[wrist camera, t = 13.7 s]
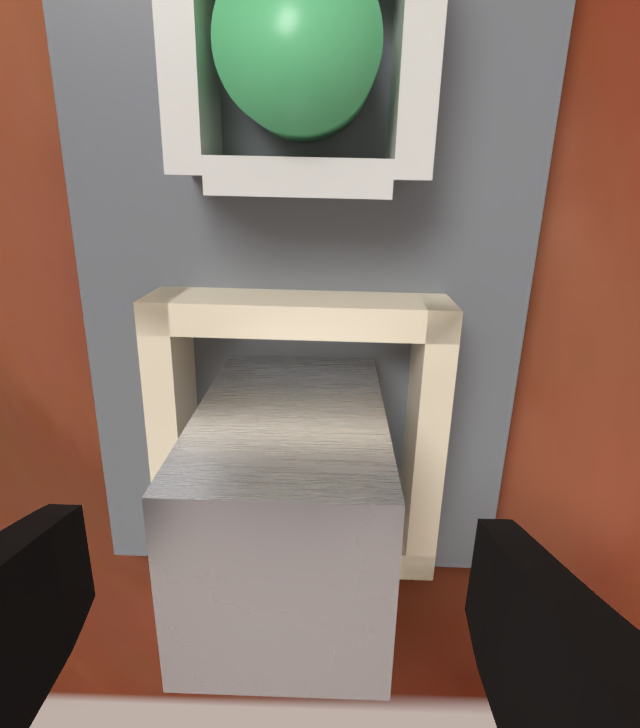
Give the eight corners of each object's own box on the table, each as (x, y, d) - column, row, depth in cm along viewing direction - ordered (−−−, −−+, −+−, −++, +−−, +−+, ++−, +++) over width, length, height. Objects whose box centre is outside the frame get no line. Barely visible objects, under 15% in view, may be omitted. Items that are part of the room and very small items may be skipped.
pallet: (128, 531, 18) (83, 606, 15) (51, -120, 12) (-51, -229, 9) (478, 543, 18) (509, 623, 15) (573, -115, 12) (660, -224, 9)
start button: (236, 141, 13) (214, 131, 10) (232, -18, 11) (206, -67, 9) (370, 143, 12) (378, 135, 10) (378, -16, 11) (388, -65, 9)
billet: (235, 480, 16) (163, 692, 9) (229, 355, 15) (141, 498, 8) (367, 483, 16) (389, 700, 9) (373, 358, 14) (405, 505, 8)
